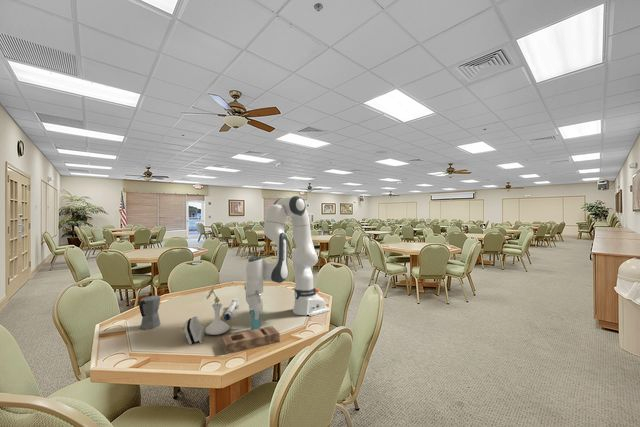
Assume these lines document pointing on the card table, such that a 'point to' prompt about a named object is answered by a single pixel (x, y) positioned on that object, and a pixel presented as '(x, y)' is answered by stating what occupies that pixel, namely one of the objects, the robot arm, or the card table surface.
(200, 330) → the white plastic case
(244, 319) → the card table surface
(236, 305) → the white plastic cylinder
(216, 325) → the flower in vase
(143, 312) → the coffeepot
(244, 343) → the socket block
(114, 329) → the card table surface
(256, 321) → the peg
